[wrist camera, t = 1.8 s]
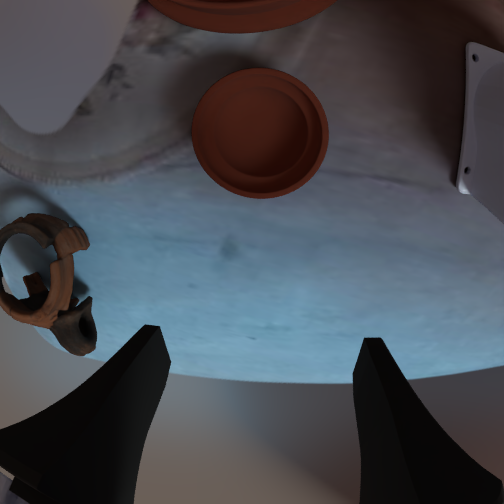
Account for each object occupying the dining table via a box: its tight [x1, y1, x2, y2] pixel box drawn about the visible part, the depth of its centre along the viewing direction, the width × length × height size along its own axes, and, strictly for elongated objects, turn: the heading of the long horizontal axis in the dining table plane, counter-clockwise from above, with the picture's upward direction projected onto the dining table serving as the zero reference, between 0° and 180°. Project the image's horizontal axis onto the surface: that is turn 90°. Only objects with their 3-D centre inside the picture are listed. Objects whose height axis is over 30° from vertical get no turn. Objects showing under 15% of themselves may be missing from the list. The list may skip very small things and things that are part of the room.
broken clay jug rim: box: [0, 213, 97, 356], centre depth 21 cm, size 12×10×8 cm
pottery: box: [148, 0, 337, 199], centre depth 11 cm, size 12×20×4 cm, turn 5°
